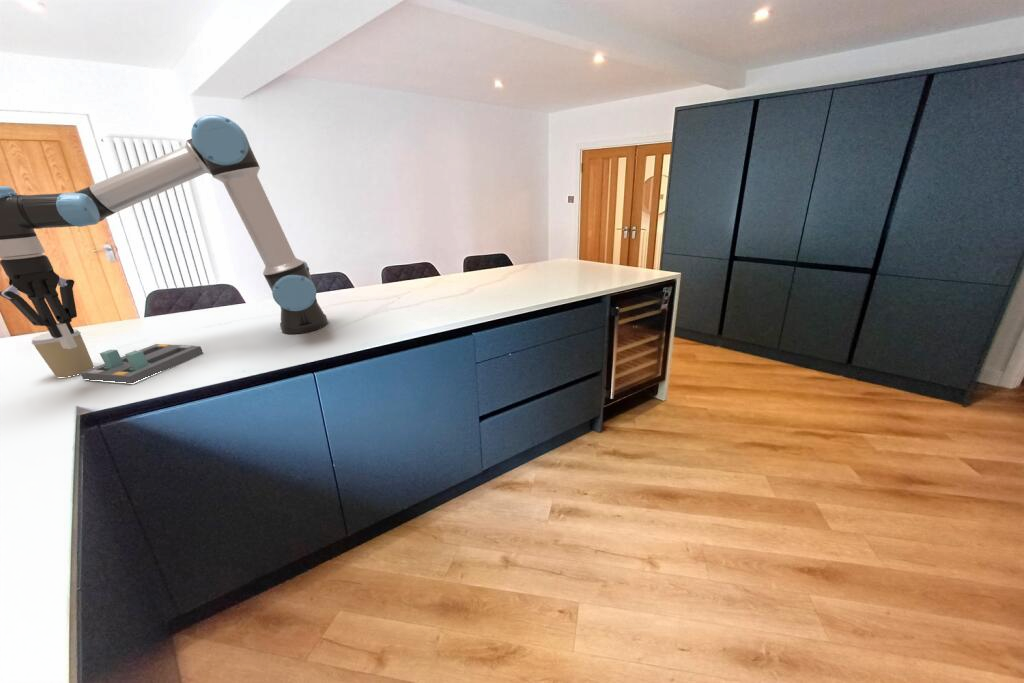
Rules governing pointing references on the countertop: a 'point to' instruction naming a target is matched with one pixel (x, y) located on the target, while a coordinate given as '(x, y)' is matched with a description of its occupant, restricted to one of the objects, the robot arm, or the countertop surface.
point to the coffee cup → (63, 355)
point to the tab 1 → (111, 359)
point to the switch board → (155, 354)
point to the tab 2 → (136, 360)
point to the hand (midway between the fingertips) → (70, 347)
